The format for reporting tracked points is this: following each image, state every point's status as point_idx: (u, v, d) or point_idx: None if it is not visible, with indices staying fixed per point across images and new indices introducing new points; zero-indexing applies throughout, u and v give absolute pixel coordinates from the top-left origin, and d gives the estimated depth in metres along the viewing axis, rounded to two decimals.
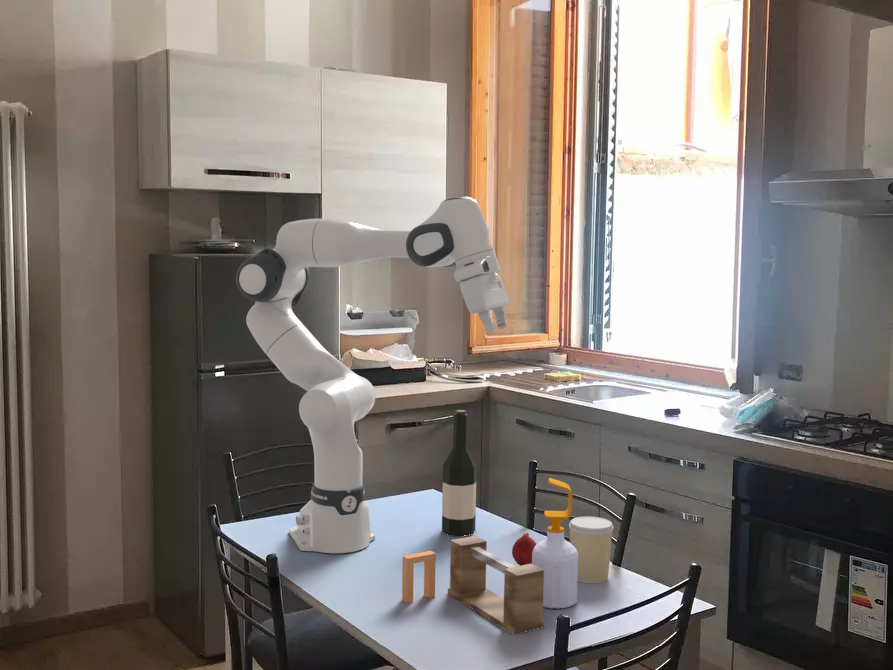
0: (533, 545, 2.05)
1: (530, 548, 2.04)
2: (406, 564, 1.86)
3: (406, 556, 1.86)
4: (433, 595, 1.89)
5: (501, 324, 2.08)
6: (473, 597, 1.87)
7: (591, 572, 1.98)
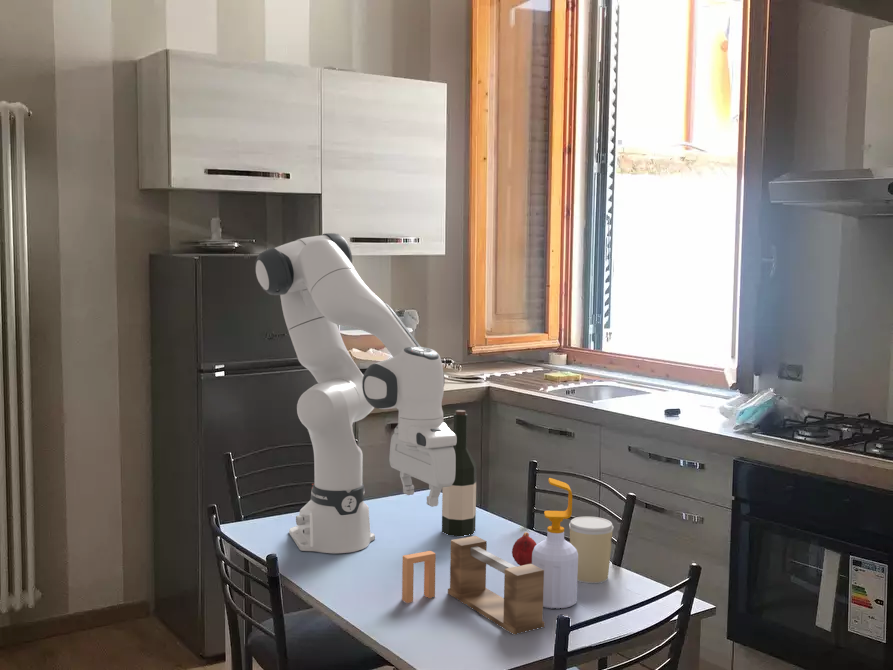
0: (533, 545, 2.05)
1: (530, 548, 2.04)
2: (406, 564, 1.86)
3: (406, 556, 1.86)
4: (433, 595, 1.89)
5: (410, 490, 1.90)
6: (473, 597, 1.87)
7: (591, 572, 1.98)
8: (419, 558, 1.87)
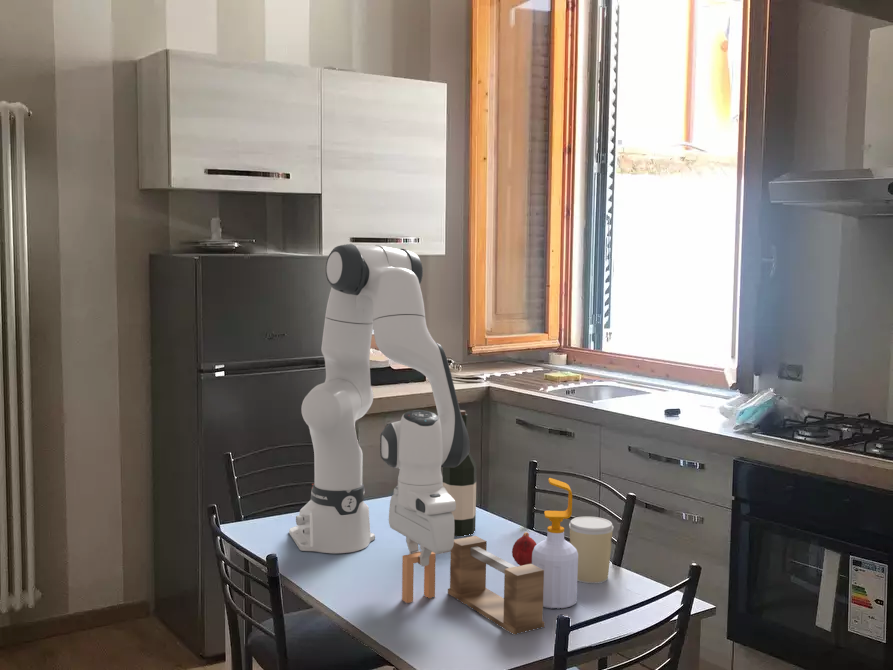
0: (533, 545, 2.05)
1: (530, 548, 2.04)
2: (406, 564, 1.86)
3: (406, 556, 1.86)
4: (433, 595, 1.89)
5: None
6: (473, 597, 1.87)
7: (591, 572, 1.98)
8: None
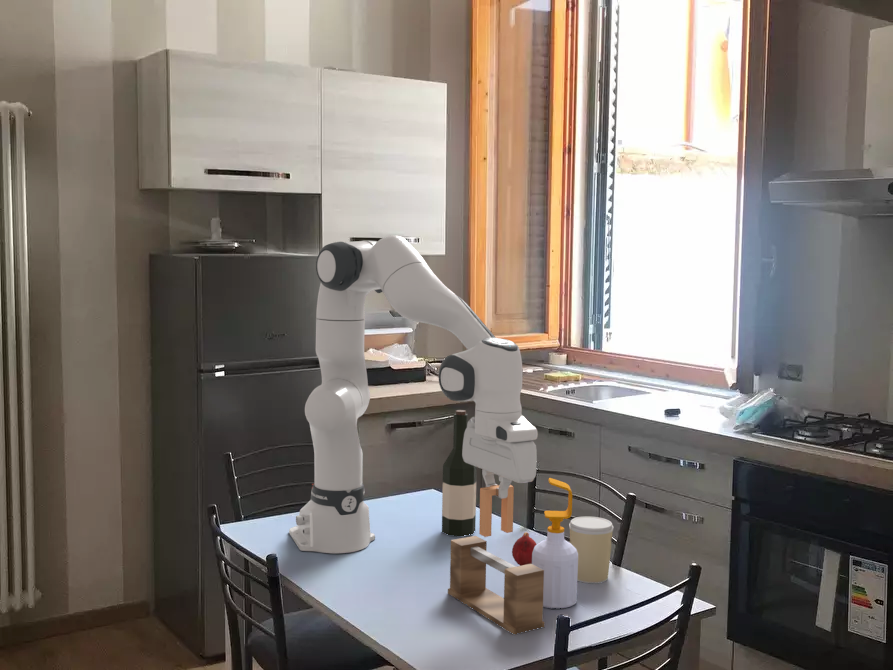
0: (533, 545, 2.05)
1: (530, 547, 2.04)
2: (484, 496, 1.79)
3: (484, 488, 1.80)
4: (511, 530, 1.83)
5: None
6: (473, 597, 1.87)
7: (591, 572, 1.98)
8: None
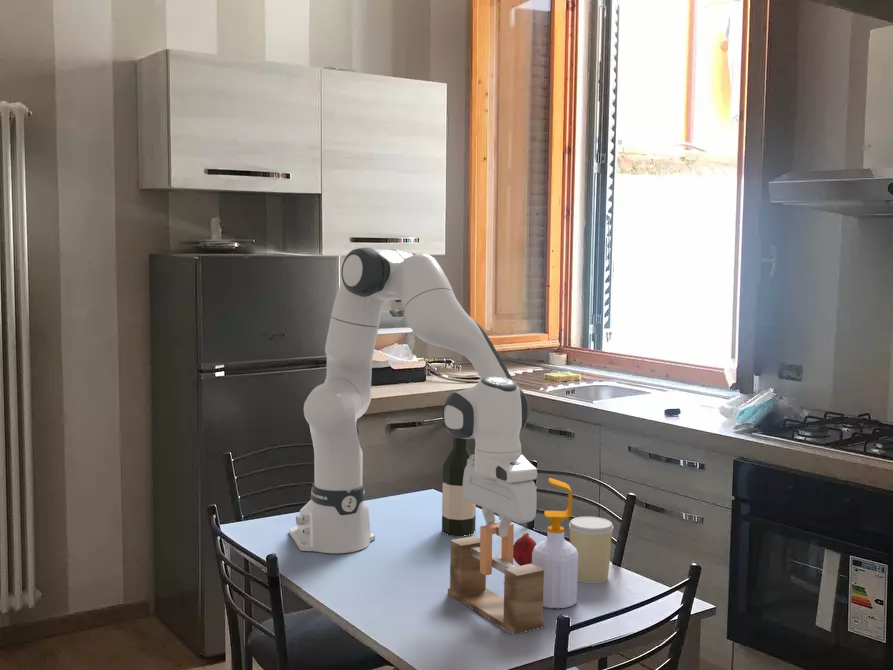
0: (533, 545, 2.05)
1: (530, 547, 2.04)
2: (485, 535, 1.80)
3: (484, 527, 1.81)
4: None
5: None
6: (473, 597, 1.87)
7: (591, 572, 1.98)
8: None
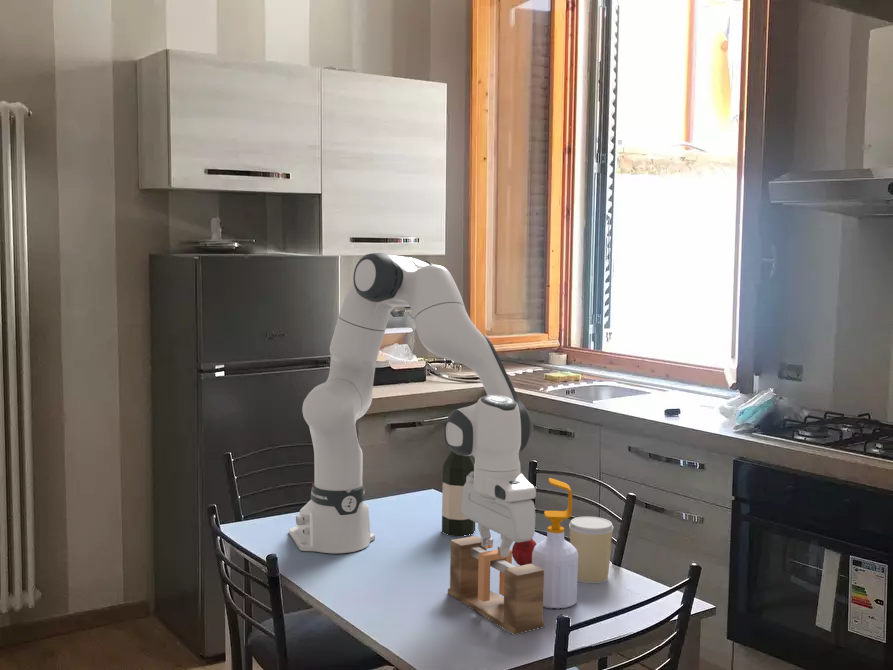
0: (533, 545, 2.05)
1: (530, 547, 2.04)
2: (483, 561, 1.80)
3: (482, 553, 1.81)
4: None
5: (489, 543, 1.84)
6: (473, 597, 1.87)
7: (591, 572, 1.98)
8: (496, 555, 1.81)
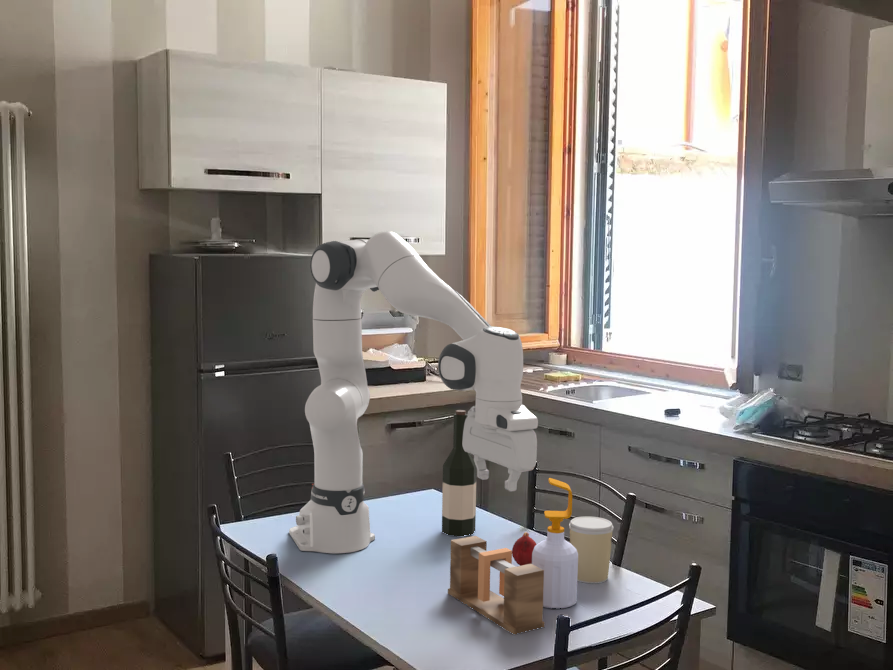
0: (533, 545, 2.05)
1: (530, 548, 2.04)
2: (483, 561, 1.80)
3: (482, 553, 1.81)
4: None
5: (485, 474, 1.84)
6: (473, 597, 1.87)
7: (591, 572, 1.98)
8: (496, 555, 1.81)
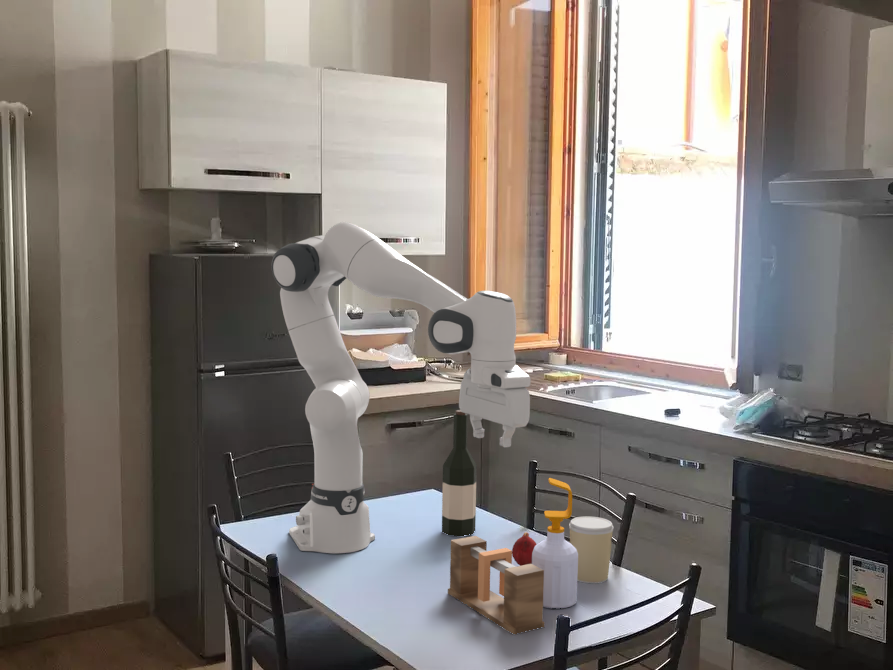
0: (533, 545, 2.05)
1: (530, 548, 2.04)
2: (483, 561, 1.80)
3: (482, 553, 1.81)
4: None
5: (481, 433, 1.93)
6: (473, 597, 1.87)
7: (591, 572, 1.98)
8: (496, 555, 1.81)
